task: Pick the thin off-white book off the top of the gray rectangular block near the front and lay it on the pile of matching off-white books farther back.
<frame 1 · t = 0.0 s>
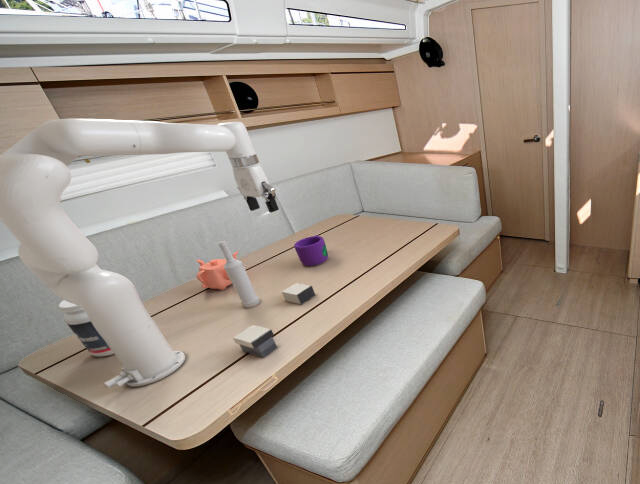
hand: (264, 210, 123), 31 cm above the table, tool pointing down, fingers open, 9 cm apart
mug: (318, 258, 157), on the table
bottle: (252, 304, 127), on the table
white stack: (300, 297, 128), on the table
white book: (254, 338, 102), point 4 cm above the table, touching gray rectangular block
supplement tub: (122, 344, 111), on the table
teapot: (228, 282, 143), on the table
gray rectangular block: (260, 349, 104), on the table
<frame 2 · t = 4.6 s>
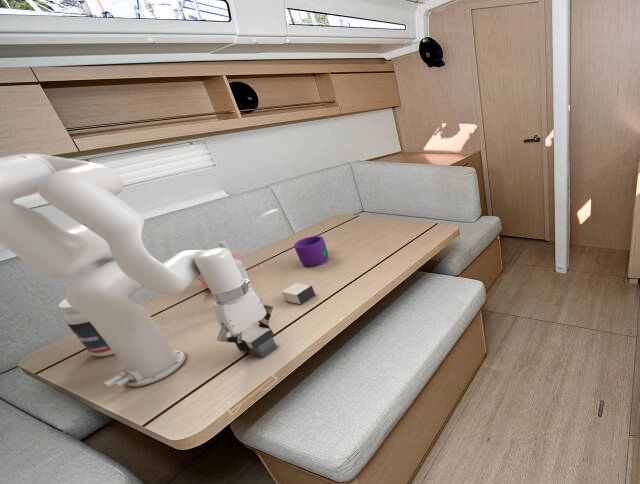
hand: (256, 342, 103), 3 cm above the table, tool pointing down, fingers closed on white book, 6 cm apart
white book: (254, 338, 102), point 4 cm above the table, touching gray rectangular block, gripper
everything else where it was.
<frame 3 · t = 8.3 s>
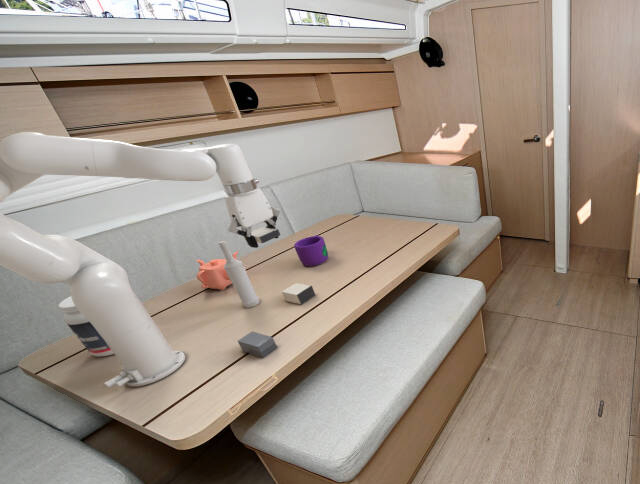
hand: (264, 241, 111), 26 cm above the table, tool pointing down, fingers closed on white book, 6 cm apart
white book: (263, 237, 110), point 27 cm above the table, touching gripper
everything else where it was.
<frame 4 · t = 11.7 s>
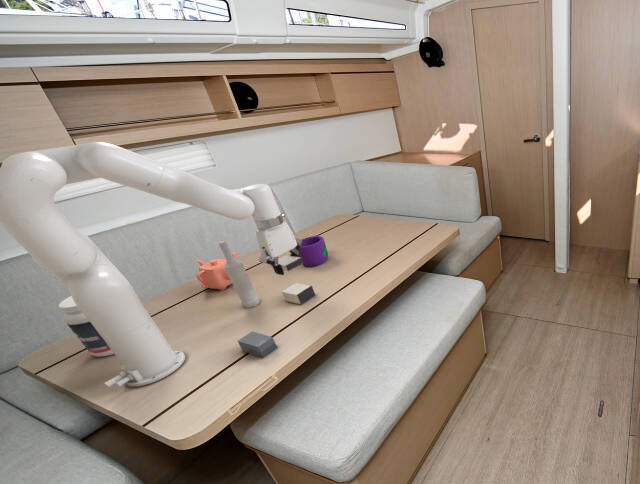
hand: (289, 268, 123), 12 cm above the table, tool pointing down, fingers closed on white book, 6 cm apart
white book: (287, 265, 122), point 14 cm above the table, touching gripper
everything else where it was.
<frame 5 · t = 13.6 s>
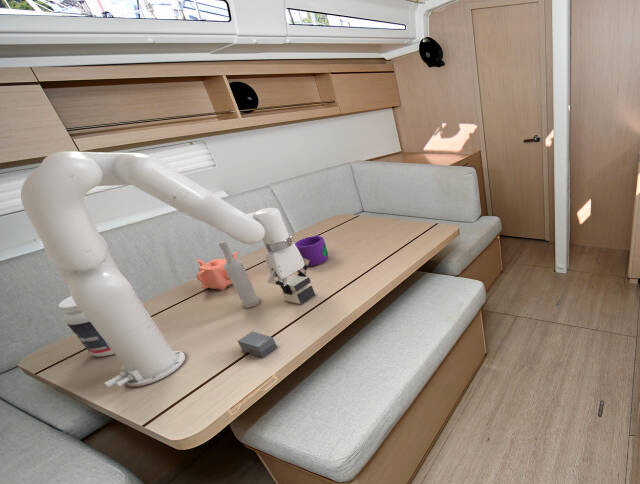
hand: (296, 288, 126), 4 cm above the table, tool pointing down, fingers closed on white book, 6 cm apart
white book: (295, 285, 126), point 6 cm above the table, touching gripper
everything else where it was.
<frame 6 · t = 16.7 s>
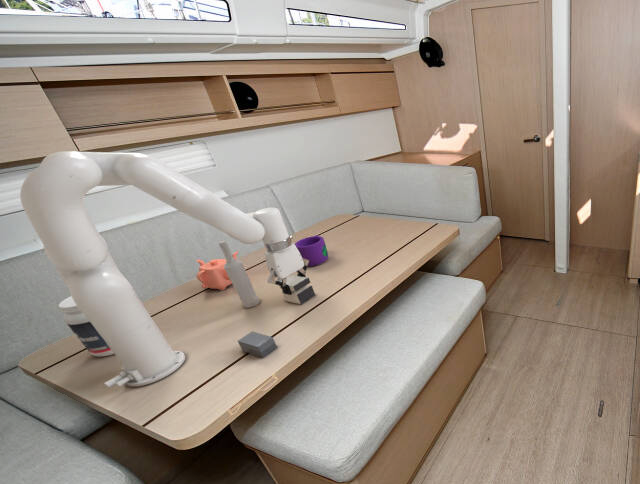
hand: (296, 288, 126), 4 cm above the table, tool pointing down, fingers closed on white book, 6 cm apart
white book: (295, 285, 125), point 6 cm above the table, touching gripper
everything else where it was.
when the fingers open (4 cm above the table, at t = 19.1 s): white book drops 2 cm, resting on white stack.
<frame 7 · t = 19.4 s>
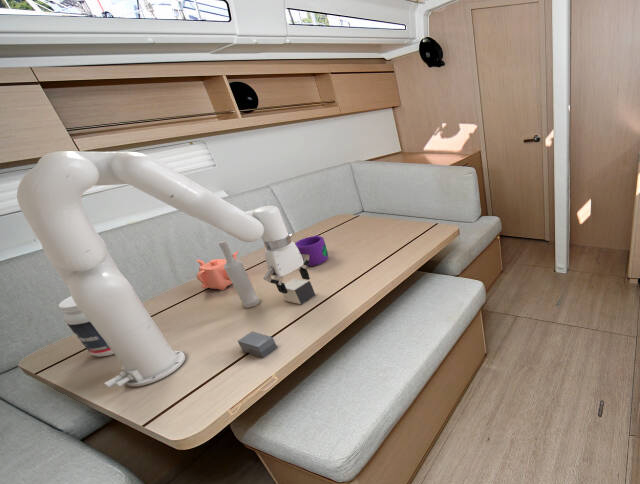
hand: (295, 285, 126), 5 cm above the table, tool pointing down, fingers open, 8 cm apart
white book: (296, 288, 126), point 4 cm above the table, touching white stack
everything else where it was.
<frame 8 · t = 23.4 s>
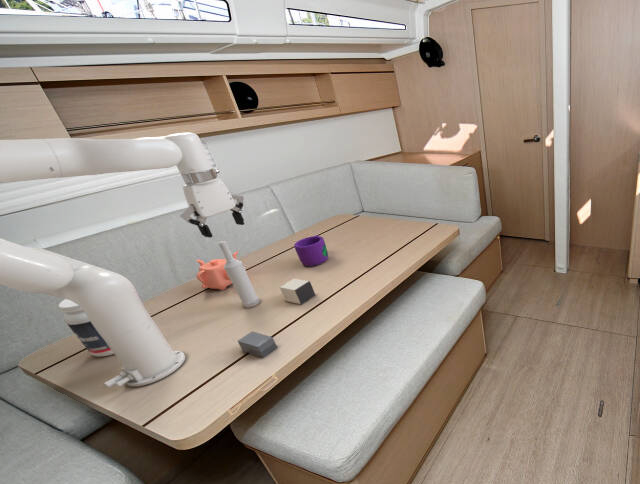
hand: (225, 230, 110), 30 cm above the table, tool pointing down, fingers open, 9 cm apart
nothing on the table moved.
at the end: white book 0.1 cm off-centre on the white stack, point 4.0 cm above the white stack's base; white book tilted 0°; the gripper is holding nothing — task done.
